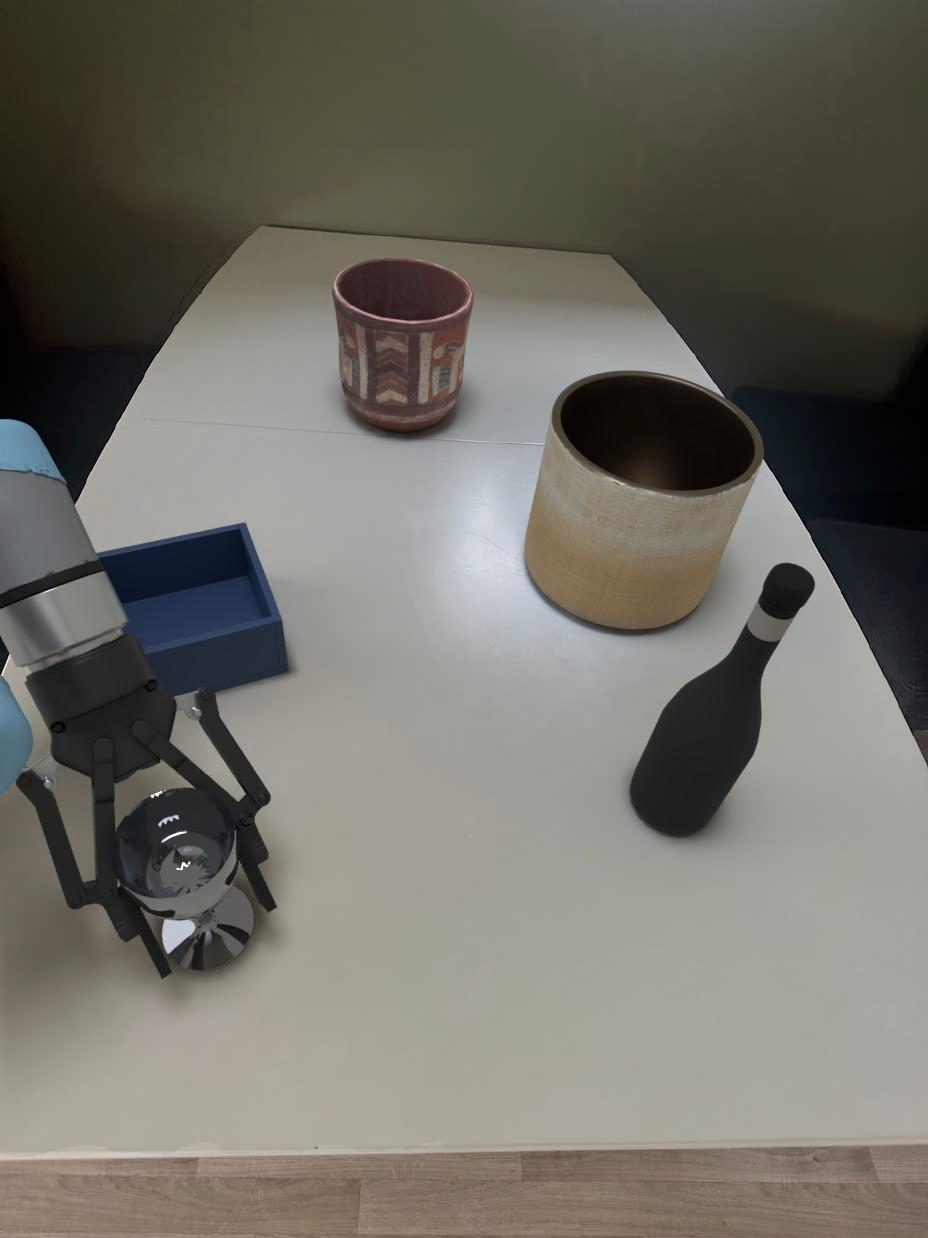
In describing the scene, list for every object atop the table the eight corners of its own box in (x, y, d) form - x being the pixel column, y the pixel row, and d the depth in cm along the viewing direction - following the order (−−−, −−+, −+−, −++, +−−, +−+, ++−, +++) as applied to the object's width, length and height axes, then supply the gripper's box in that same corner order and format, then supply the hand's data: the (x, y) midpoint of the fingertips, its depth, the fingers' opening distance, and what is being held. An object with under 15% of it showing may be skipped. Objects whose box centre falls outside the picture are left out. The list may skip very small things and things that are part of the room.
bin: (106, 721, 76) (83, 669, 70) (87, 613, 84) (65, 558, 78) (288, 671, 81) (282, 619, 76) (253, 575, 90) (245, 521, 84)
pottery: (353, 454, 106) (351, 328, 93) (325, 382, 117) (319, 259, 103) (478, 438, 111) (493, 315, 97) (440, 370, 122) (448, 251, 108)
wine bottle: (638, 751, 79) (743, 521, 56) (718, 780, 77) (857, 556, 55) (619, 819, 73) (725, 596, 51) (703, 852, 72) (851, 637, 50)
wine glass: (166, 994, 60) (119, 918, 49) (148, 898, 65) (101, 809, 54) (270, 953, 63) (248, 872, 52) (245, 864, 68) (220, 772, 56)
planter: (743, 598, 94) (813, 460, 79) (594, 664, 86) (641, 523, 71) (627, 489, 106) (669, 351, 91) (487, 537, 97) (508, 393, 83)
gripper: (207, 595, 62) (323, 850, 66) (-81, 713, 53) (73, 1000, 57) (229, 590, 55) (355, 873, 59) (-96, 724, 46) (79, 1048, 50)
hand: (217, 935), depth 58 cm, fingers closed on wine glass, 7 cm apart
